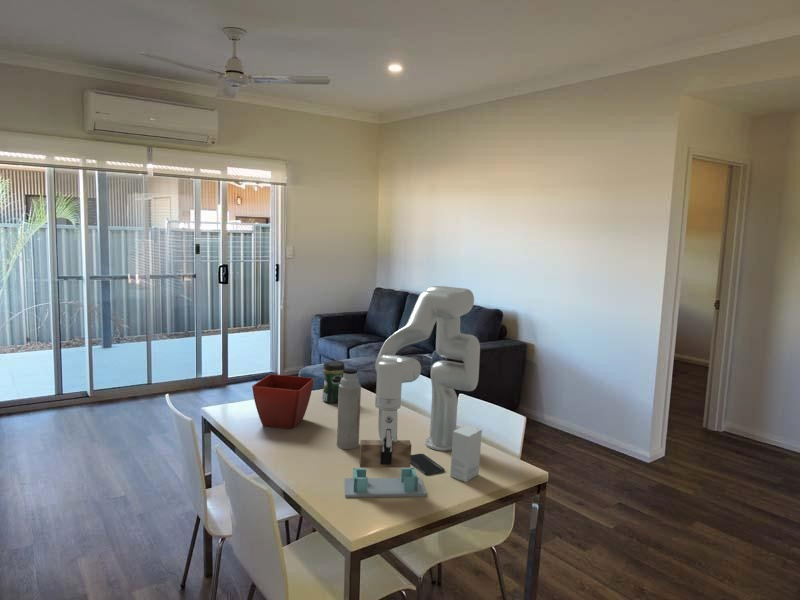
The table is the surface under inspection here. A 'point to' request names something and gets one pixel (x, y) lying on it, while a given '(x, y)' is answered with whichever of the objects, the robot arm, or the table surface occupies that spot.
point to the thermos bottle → (349, 410)
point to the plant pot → (282, 399)
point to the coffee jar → (332, 380)
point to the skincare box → (465, 453)
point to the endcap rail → (384, 485)
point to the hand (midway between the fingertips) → (385, 460)
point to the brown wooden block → (372, 454)
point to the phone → (425, 464)
